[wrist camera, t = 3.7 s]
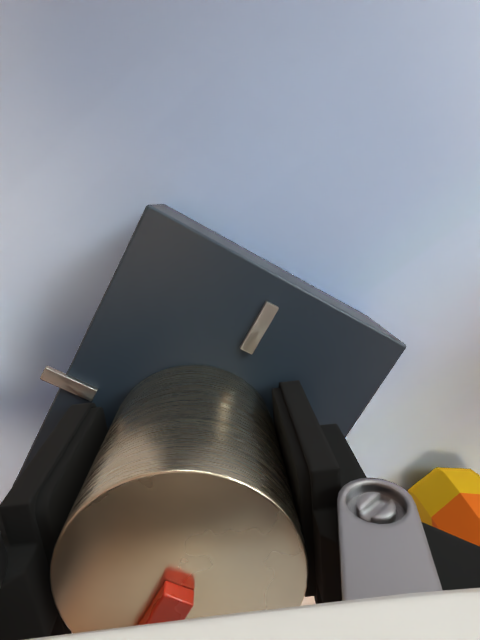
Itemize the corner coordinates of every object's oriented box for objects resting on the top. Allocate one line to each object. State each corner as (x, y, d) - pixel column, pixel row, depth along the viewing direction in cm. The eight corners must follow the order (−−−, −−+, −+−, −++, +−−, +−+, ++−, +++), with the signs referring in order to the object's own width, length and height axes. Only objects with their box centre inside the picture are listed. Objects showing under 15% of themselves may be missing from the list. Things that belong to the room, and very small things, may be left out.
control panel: (147, 194, 13) (125, 192, 10) (380, 323, 14) (426, 356, 11) (24, 454, 15) (-27, 521, 12) (238, 542, 16) (243, 620, 13)
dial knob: (156, 335, 11) (110, 438, 6) (303, 407, 11) (363, 547, 7) (86, 470, 12) (0, 649, 7) (227, 527, 12) (233, 723, 8)
